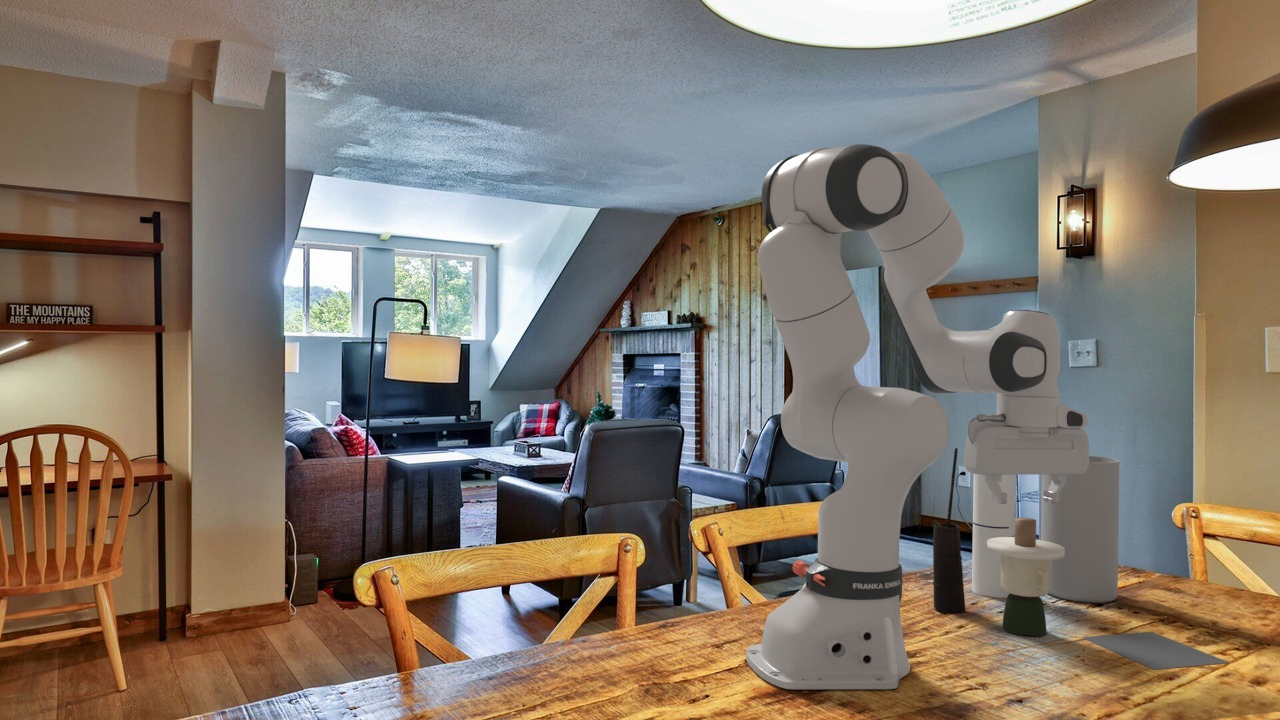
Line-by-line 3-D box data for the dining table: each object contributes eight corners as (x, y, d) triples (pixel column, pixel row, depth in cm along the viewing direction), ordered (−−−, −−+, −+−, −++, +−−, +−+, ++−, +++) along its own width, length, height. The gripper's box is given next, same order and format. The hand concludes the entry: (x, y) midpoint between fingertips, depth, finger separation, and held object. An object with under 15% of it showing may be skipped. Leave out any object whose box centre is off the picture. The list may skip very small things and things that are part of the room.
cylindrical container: (964, 586, 152) (966, 454, 152) (1000, 586, 153) (1002, 454, 153) (984, 598, 145) (986, 459, 145) (1022, 597, 146) (1024, 459, 146)
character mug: (1068, 645, 121) (1069, 559, 121) (1026, 647, 120) (1027, 560, 120) (1022, 621, 132) (1023, 542, 132) (983, 623, 131) (984, 543, 131)
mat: (1153, 673, 111) (1153, 669, 111) (1081, 641, 123) (1081, 637, 123) (1229, 666, 113) (1229, 662, 113) (1151, 635, 126) (1151, 631, 126)
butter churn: (903, 602, 142) (905, 443, 142) (951, 598, 144) (953, 442, 144) (934, 618, 133) (936, 449, 133) (984, 615, 135) (986, 448, 135)
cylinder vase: (1132, 604, 142) (1134, 463, 142) (1061, 603, 142) (1063, 462, 142) (1093, 584, 155) (1095, 454, 154) (1028, 583, 155) (1029, 454, 155)
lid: (1018, 561, 120) (1019, 527, 120) (972, 544, 130) (972, 513, 130) (1081, 558, 122) (1081, 525, 122) (1030, 541, 133) (1031, 511, 133)
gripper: (982, 415, 121) (979, 507, 121) (1097, 416, 125) (1095, 505, 125) (956, 412, 127) (954, 500, 127) (1067, 414, 131) (1065, 498, 131)
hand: (1025, 503), depth 126 cm, fingers open, 8 cm apart
